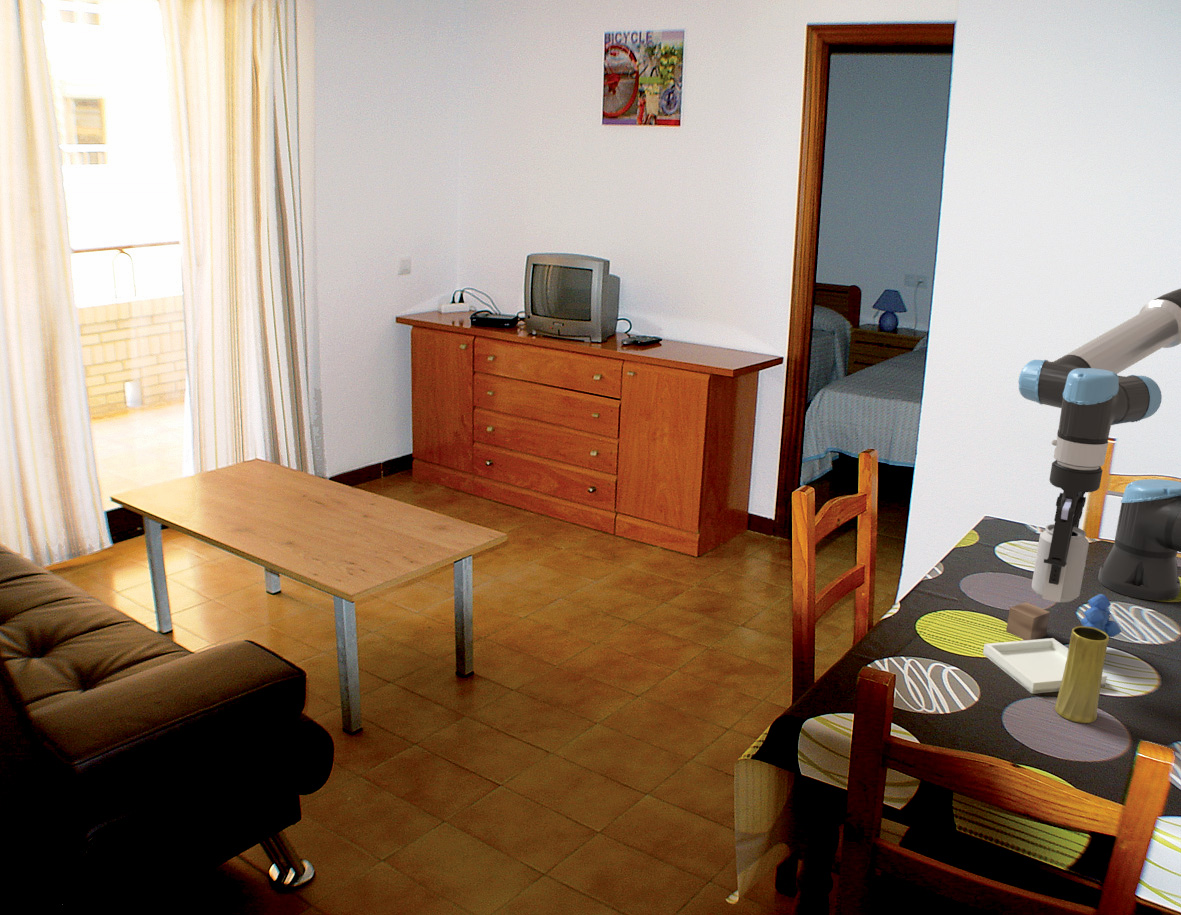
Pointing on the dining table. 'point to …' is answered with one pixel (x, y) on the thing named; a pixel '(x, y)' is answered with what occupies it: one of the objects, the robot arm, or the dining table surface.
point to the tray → (1032, 663)
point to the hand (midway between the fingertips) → (1055, 591)
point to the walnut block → (1027, 621)
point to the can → (1074, 563)
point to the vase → (1082, 675)
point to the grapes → (1100, 616)
